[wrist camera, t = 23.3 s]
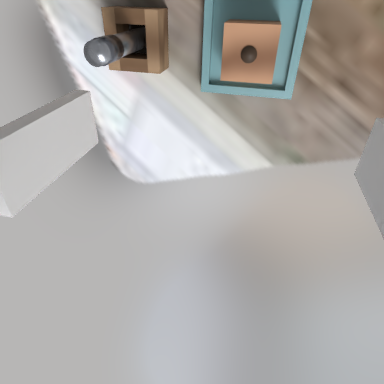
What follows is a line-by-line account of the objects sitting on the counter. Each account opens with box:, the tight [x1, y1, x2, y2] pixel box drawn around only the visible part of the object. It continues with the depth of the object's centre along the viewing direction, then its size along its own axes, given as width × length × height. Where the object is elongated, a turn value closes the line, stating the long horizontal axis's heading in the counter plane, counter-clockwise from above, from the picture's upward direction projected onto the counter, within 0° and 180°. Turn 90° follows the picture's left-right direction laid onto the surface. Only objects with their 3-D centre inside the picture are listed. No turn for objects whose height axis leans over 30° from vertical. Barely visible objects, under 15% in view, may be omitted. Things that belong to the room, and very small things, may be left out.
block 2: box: [220, 19, 282, 84], centre depth 35 cm, size 6×6×5 cm
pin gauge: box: [84, 27, 147, 67], centre depth 34 cm, size 3×3×13 cm
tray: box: [201, 0, 312, 99], centre depth 36 cm, size 12×12×2 cm
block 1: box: [101, 6, 169, 74], centre depth 38 cm, size 7×7×4 cm
